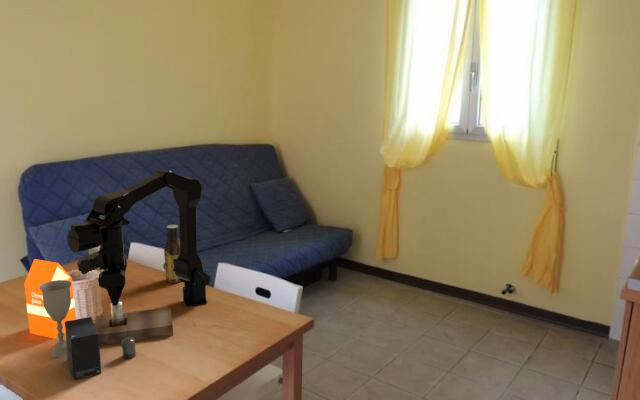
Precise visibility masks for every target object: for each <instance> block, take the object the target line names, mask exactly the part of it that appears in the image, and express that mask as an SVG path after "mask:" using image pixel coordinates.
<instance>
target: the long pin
mask: <svg viewBox="0 0 640 400" xmlns="http://www.w3.org/2000/svg"><path fill="white" fill-rule="evenodd" d="M123 305H124V303H123V300H122V299H119V301H118V304H117V306H113V305H112V303H111V301H110V312H111V313H110V314H111V317H112V327H115V326H123V325H124V317H123V313H124V306H123Z"/></svg>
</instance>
